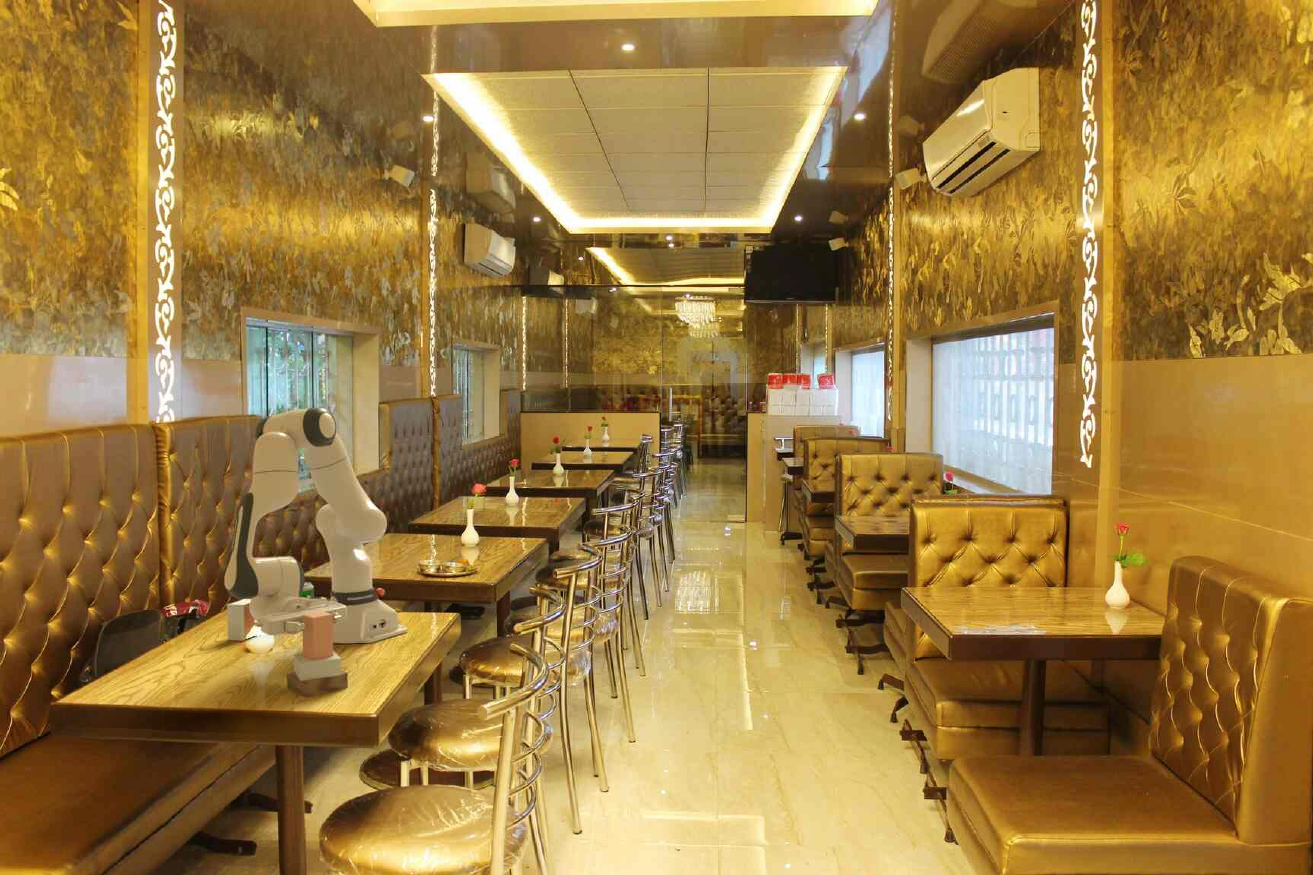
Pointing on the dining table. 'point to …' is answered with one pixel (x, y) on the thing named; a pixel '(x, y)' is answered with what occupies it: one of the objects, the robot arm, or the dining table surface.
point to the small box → (239, 620)
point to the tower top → (317, 667)
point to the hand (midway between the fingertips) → (320, 623)
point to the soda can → (308, 590)
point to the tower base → (316, 684)
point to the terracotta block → (318, 635)
